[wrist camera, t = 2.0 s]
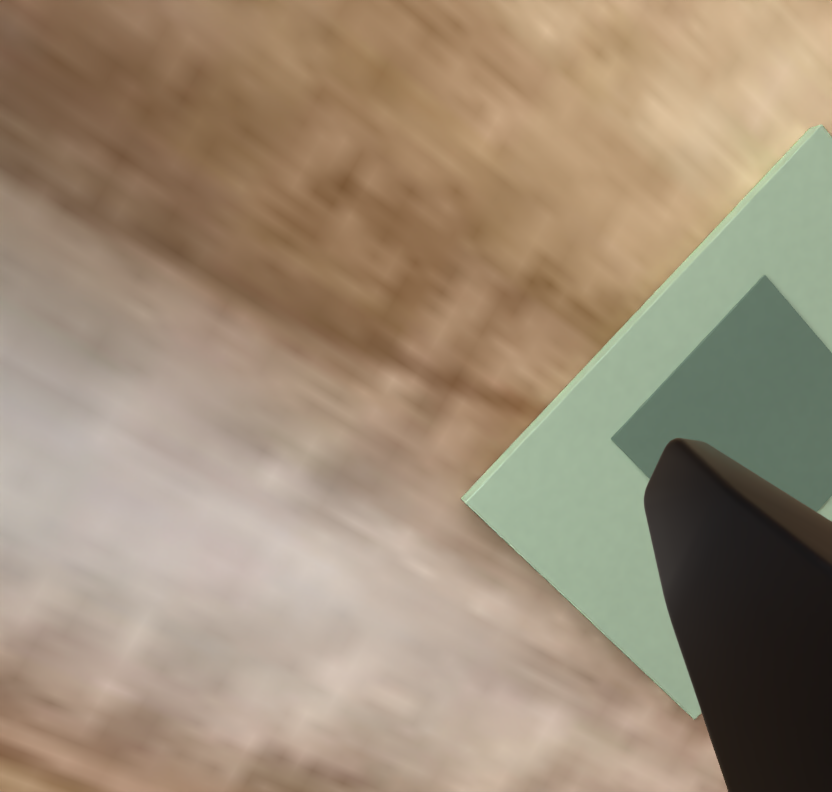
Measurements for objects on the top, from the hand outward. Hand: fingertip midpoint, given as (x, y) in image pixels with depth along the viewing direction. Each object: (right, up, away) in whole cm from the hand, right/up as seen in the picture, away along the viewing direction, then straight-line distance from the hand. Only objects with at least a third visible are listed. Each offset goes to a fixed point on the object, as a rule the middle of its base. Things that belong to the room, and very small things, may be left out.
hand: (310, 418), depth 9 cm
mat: (+12, -1, +17) cm, 20 cm away
